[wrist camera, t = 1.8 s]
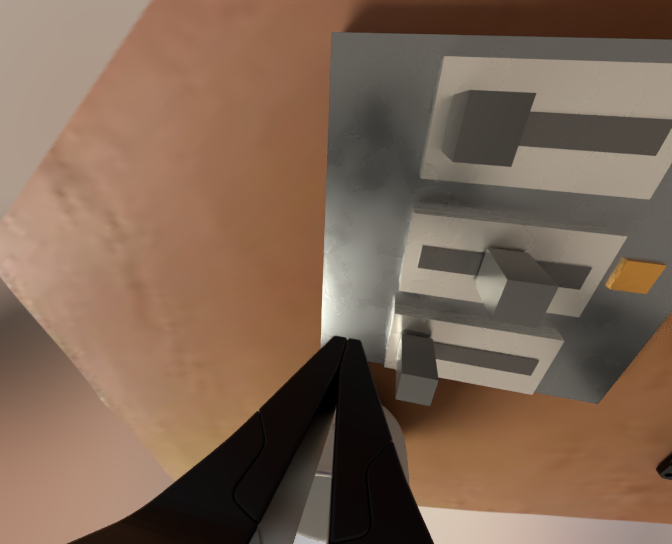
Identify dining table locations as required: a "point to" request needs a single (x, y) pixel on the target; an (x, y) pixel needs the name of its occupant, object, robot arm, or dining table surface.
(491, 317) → the handle
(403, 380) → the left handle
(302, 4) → the dining table surface
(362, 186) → the breaker panel
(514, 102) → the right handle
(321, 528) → the teacup
